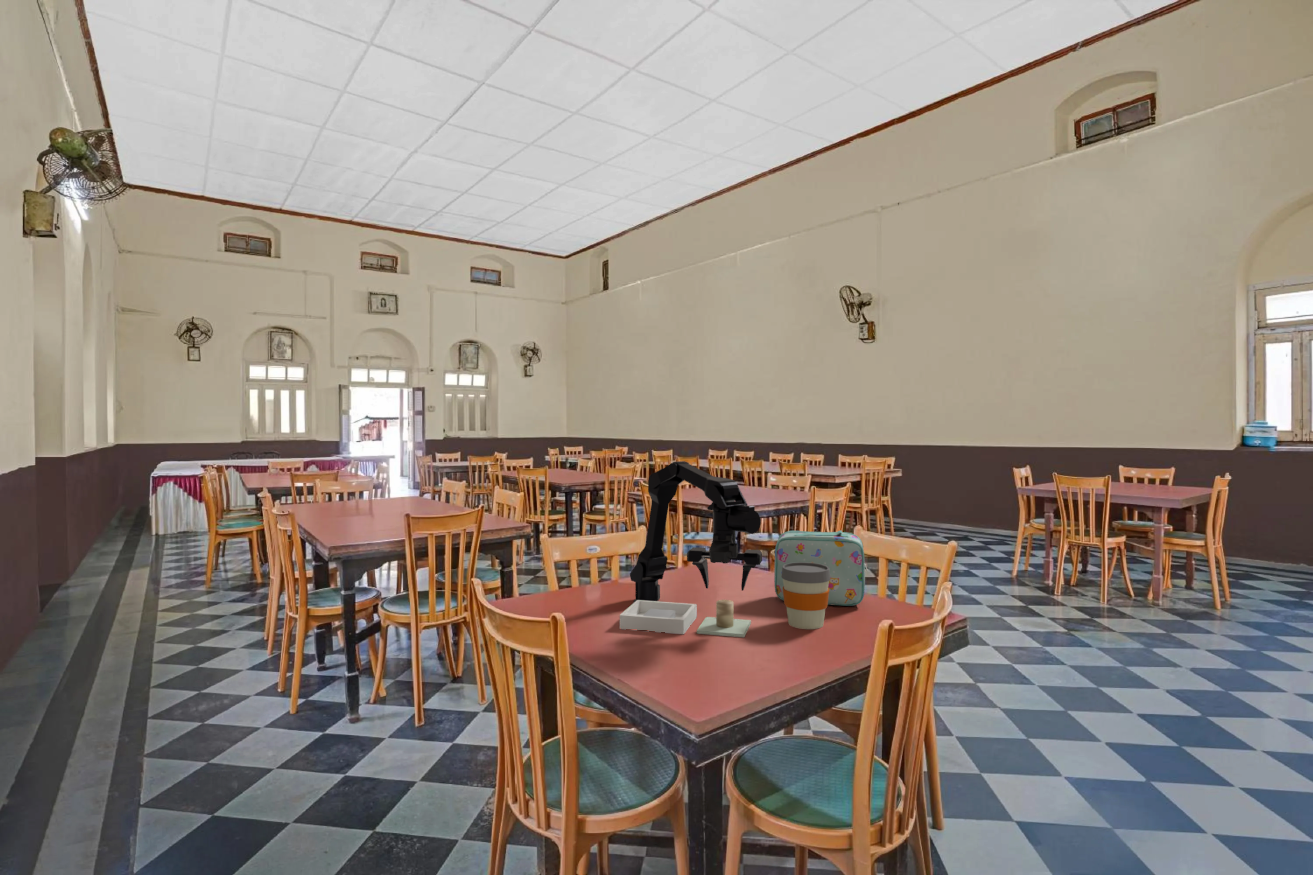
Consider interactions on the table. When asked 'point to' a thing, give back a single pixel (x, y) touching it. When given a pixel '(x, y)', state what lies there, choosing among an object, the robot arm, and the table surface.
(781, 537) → the lunch box
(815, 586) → the reusable coffee cup
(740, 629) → the green pad
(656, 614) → the tray
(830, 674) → the table surface
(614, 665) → the table surface
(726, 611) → the birch cylinder
